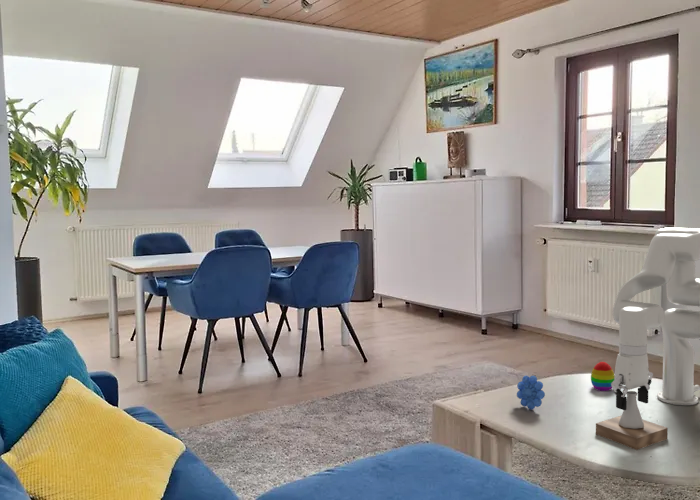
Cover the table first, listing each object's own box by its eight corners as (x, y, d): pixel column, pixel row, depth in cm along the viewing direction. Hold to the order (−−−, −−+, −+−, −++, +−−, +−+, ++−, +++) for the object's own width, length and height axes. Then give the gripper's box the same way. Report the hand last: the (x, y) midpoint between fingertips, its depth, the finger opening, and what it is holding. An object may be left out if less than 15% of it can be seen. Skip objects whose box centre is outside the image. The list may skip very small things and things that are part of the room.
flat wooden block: (626, 426, 204) (626, 413, 203) (667, 440, 191) (667, 427, 191) (595, 436, 197) (595, 423, 196) (636, 452, 184) (636, 438, 184)
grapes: (553, 411, 216) (553, 376, 215) (538, 416, 212) (539, 380, 211) (526, 402, 226) (526, 368, 225) (512, 406, 222) (512, 371, 221)
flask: (647, 430, 190) (648, 396, 189) (621, 429, 191) (622, 396, 190) (640, 421, 197) (640, 388, 196) (615, 420, 198) (615, 388, 197)
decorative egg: (598, 383, 243) (598, 357, 242) (619, 388, 237) (619, 361, 236) (586, 388, 238) (586, 362, 237) (607, 393, 232) (607, 366, 231)
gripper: (640, 341, 199) (640, 396, 201) (602, 351, 190) (601, 407, 192) (663, 347, 192) (662, 403, 194) (624, 357, 184) (623, 415, 186)
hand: (632, 405), depth 193 cm, fingers open, 9 cm apart
